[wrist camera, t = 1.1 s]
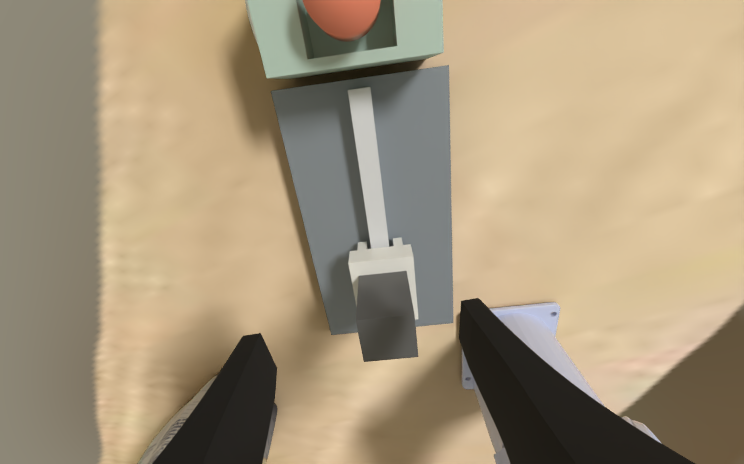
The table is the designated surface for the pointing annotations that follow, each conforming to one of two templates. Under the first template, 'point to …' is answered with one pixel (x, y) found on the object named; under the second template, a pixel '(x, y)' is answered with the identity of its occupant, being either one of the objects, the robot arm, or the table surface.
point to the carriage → (385, 300)
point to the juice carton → (178, 421)
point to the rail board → (374, 180)
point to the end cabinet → (327, 55)
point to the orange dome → (344, 17)
